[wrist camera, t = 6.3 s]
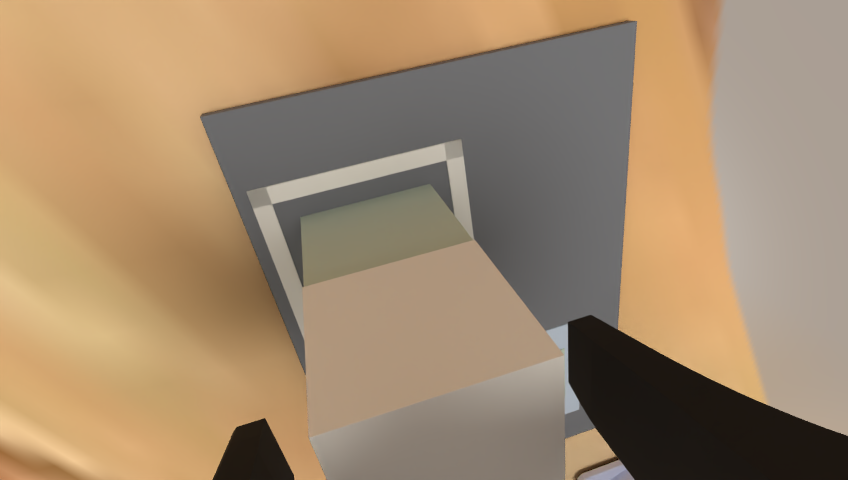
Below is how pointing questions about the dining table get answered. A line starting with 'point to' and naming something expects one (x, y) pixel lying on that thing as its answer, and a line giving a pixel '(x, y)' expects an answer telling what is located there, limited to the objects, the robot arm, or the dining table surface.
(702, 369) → the dining table surface
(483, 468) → the top block
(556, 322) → the mat
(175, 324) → the dining table surface
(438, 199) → the base block
